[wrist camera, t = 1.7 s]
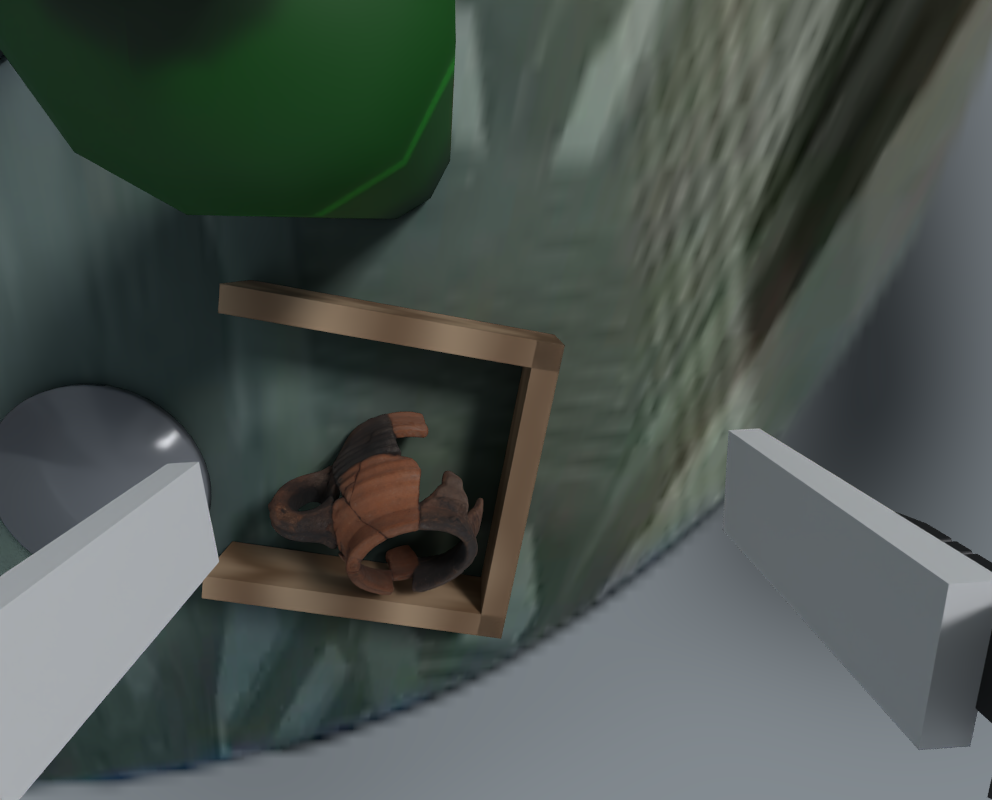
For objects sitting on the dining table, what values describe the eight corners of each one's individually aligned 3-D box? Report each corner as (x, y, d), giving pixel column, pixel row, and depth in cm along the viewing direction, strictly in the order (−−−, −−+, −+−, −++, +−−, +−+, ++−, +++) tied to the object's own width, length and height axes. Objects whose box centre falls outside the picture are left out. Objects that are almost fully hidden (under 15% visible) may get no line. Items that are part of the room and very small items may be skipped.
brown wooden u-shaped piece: (230, 561, 36) (201, 598, 32) (251, 279, 32) (219, 283, 28) (498, 599, 38) (501, 638, 34) (554, 334, 33) (564, 345, 29)
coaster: (1, 559, 36) (-10, 566, 35) (-8, 366, 33) (-20, 369, 32) (206, 587, 37) (200, 594, 36) (217, 403, 34) (210, 406, 33)
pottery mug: (468, 394, 34) (500, 500, 28) (460, 491, 40) (484, 594, 34) (261, 411, 31) (248, 532, 25) (287, 513, 37) (281, 629, 32)
